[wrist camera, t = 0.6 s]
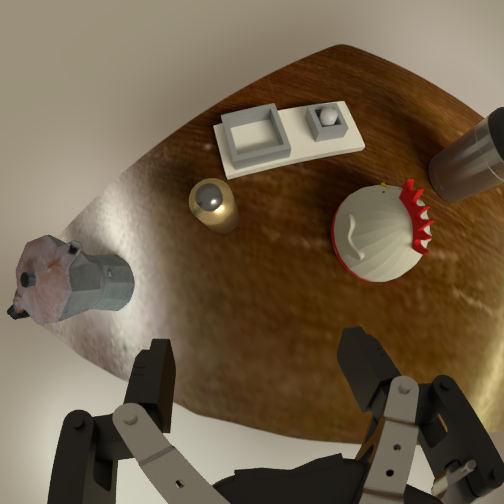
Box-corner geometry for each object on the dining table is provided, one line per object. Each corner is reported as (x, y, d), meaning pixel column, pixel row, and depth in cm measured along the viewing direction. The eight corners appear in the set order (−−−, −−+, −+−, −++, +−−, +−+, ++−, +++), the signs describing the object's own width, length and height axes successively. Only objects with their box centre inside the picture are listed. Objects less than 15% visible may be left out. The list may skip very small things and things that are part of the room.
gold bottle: (235, 198, 39) (225, 169, 28) (243, 229, 38) (236, 211, 27) (203, 207, 39) (182, 181, 28) (210, 238, 38) (191, 224, 27)
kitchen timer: (397, 185, 38) (449, 148, 23) (419, 268, 37) (482, 263, 22) (320, 199, 38) (351, 157, 24) (342, 291, 37) (389, 300, 22)
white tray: (341, 105, 40) (350, 87, 34) (362, 150, 39) (374, 134, 33) (214, 130, 40) (208, 111, 34) (227, 179, 39) (222, 165, 34)
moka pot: (161, 279, 38) (77, 281, 18) (98, 335, 38) (10, 364, 18) (127, 230, 39) (39, 197, 19) (70, 288, 38) (-20, 291, 19)
